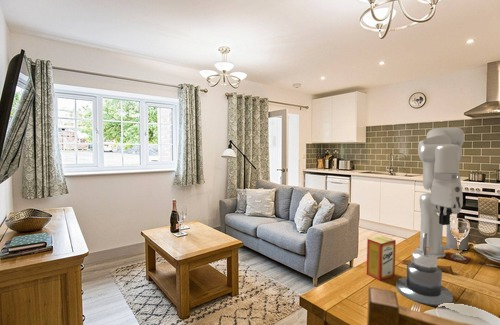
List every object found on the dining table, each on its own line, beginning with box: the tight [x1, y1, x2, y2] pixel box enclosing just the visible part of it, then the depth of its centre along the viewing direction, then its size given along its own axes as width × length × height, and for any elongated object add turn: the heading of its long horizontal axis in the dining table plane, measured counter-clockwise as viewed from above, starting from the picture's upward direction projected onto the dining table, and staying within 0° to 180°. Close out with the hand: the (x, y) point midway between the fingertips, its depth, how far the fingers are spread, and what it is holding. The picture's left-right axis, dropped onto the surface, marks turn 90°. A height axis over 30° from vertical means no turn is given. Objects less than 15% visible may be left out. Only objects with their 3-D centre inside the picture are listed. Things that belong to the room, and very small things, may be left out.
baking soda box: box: [366, 235, 397, 282], centre depth 113 cm, size 10×6×16 cm
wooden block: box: [411, 233, 438, 272], centre depth 103 cm, size 18×8×13 cm, turn 142°
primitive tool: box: [401, 259, 453, 275], centre depth 122 cm, size 19×6×4 cm, turn 55°
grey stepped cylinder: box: [395, 262, 454, 307], centre depth 99 cm, size 18×18×10 cm
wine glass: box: [445, 220, 470, 251], centre depth 146 cm, size 10×10×15 cm
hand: (444, 224), depth 101 cm, fingers closed
